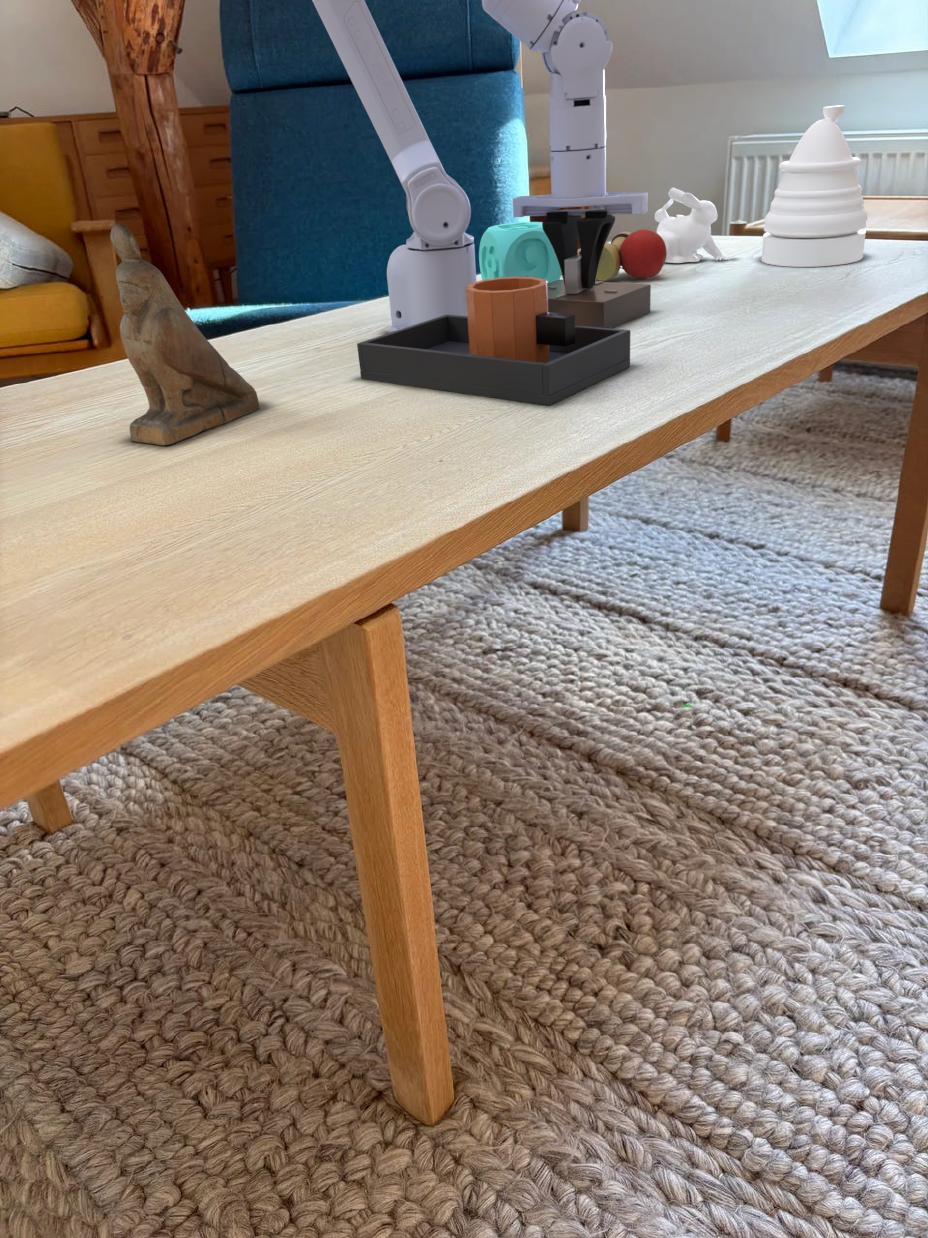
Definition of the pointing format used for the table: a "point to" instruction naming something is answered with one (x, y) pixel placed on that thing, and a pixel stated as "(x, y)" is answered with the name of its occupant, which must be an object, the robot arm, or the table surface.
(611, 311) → the panel
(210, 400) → the worn brown figurine
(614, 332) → the dark grey tray
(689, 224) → the rabbit figurine
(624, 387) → the table surface
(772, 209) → the honey pot
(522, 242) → the decorative dice
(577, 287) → the grey block with red
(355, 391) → the table surface
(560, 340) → the pot
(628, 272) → the kendama
